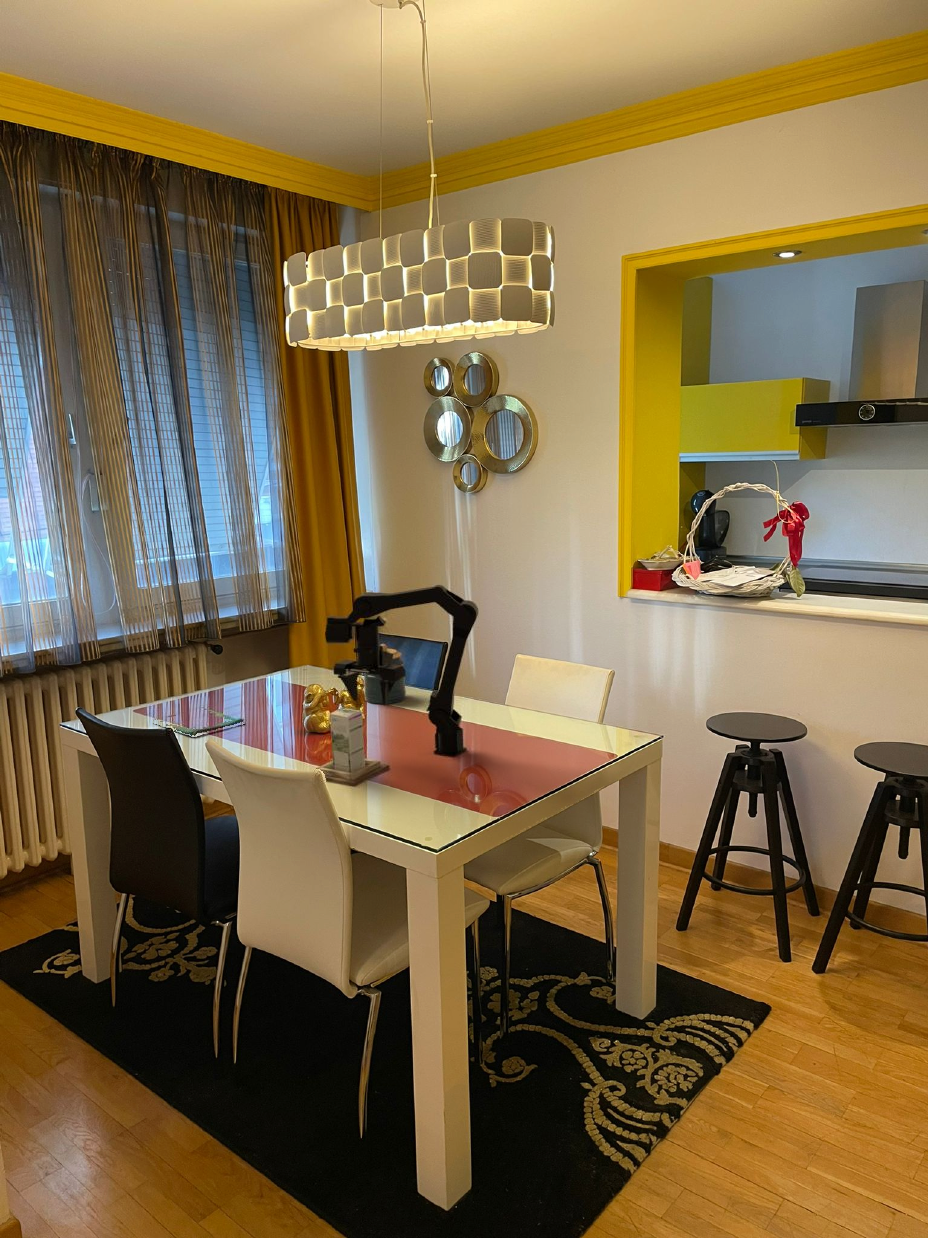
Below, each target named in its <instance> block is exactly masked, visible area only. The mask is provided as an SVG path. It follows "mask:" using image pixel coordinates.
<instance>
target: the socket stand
mask: <svg viewBox="0 0 928 1238" xmlns="http://www.w3.org/2000/svg"><path fill="white" fill-rule="evenodd" d="M316 769H320V770H321V771H323V773H324V774H325V778H326V780H327V781H326V782H331V783H336V784H341V785H345V786H351V787H356V786H358V785H360V784H362V783H364V782H365V781H367V780H369V779H371V778H374V777H375V776H377V775H379V774H380V773H382V772H384V771H385V772H386V771H387V770H389V769H390V764H386V763H381V760H377V759H376V760H375V759H370V758H365V767H363V768H361V769H359V770H357V771H355V772H353V773H348V772H343V771H338V770H334V769H333V759H332V760H330V761H328V762H327V763H324V764H322V765H320V766H318V767H316V768H315V770H316Z"/></svg>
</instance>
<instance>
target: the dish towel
mask: <svg viewBox="0 0 928 1238" xmlns="http://www.w3.org/2000/svg"><path fill="white" fill-rule="evenodd" d="M202 708H204V709H205V710H209V711H211V712H210V713H215V714H216V715H215V716H218V717H225V718H224V719H229V720H230V719H231V720H232V721H228V722H226V721H225V722H224V723H220V724H216V725H217V726H213V727H207V728H206V727H203V729H187V728H185V727H181V726H177V725H172V724H170V725H168V724H166V726H173V728H174V729H175V728H176V730H177V731H181V732H182V733H185V734H190V735H191V736H192V735H194V736H195V735H196V734H197V733H202V732H207V731H211V730H216V729H218V728H223V727H225V726H230V725H234V724H237V723H240V722H243V723H245V722H244V721H245V719H244V718H235V717H232V716H230V715H227V714H223V713H222V712H217V711H214V710H211V709H208V708H206V707H202ZM184 712H185V713H186V712H187V711H184ZM184 712H182V713H184ZM170 716H171V717H172V716H176V715H175V714H171V715H168V716H166V717H170ZM231 717H232V718H231ZM161 718H162V717H160V718H154V720H156V719H157V720H158V719H161ZM160 722H163V721H160ZM194 728H195V727H194ZM176 730H175V731H176Z"/></svg>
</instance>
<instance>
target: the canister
mask: <svg viewBox="0 0 928 1238" xmlns="http://www.w3.org/2000/svg"><path fill="white" fill-rule="evenodd" d="M380 645H381V646H382V647H383V651H384V652H388V653H392V654H393V660H392V665H401V666H403V667H404V665H405V660H404V659H402V658H401V657H402V656H403V655H402V653H401V652H399V651H398V650H397V649H393V648H388V646H387V644H384V643H382V644H380ZM386 666H388V665H386V664H385V665H384V666H380V667H382V668H384V667H386ZM364 670H367V669H364ZM372 671H375V670H372ZM363 677H364V679H363V680H364V698H365V701H366V702H367V703H371V704H377V705H378V704H379V705H380V704H381V705H384V704H383V700H382V694H381V687H380V681H381V680H383V679H382V678H381V677H380V675H377V674H367V673H363ZM405 677H406V676H405ZM405 677H402V678H401V679H400V680H398V681H396V682H395V684H394V686H393V688H392V691H391V694H390V697H389V700H388V703H387V704H393V703H398V702H402V701H404V700H406V695H407V689H406V681H405V679H406V678H405Z"/></svg>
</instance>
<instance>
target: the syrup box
mask: <svg viewBox="0 0 928 1238" xmlns="http://www.w3.org/2000/svg"><path fill="white" fill-rule="evenodd" d="M329 719H330V720H329V721H330V736H331V751H332V760H333V769H334V770H338V771H343V772H348V773H353V772H355V771H357V770H359V769H361V768H363V767H365V759H366V757H365V741H364V722H363V711H362V710H358V709H351V708H346V707H345V708H340V709H336V710H335V711H333V712H331V713H329Z"/></svg>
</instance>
